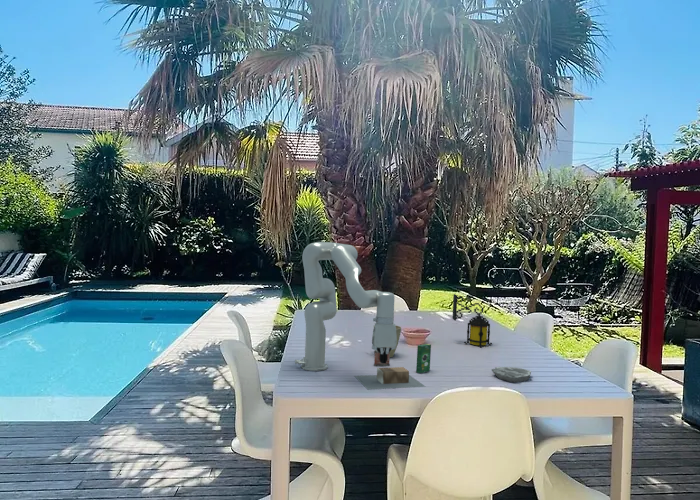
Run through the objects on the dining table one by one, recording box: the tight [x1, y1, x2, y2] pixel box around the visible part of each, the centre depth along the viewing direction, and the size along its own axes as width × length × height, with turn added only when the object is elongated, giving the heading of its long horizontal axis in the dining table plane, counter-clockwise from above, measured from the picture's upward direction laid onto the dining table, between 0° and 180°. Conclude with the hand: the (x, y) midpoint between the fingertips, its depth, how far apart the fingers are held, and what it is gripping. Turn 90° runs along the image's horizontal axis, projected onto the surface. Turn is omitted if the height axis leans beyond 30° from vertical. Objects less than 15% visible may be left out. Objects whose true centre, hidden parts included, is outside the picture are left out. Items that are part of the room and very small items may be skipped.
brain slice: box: [491, 366, 532, 383], centre depth 242 cm, size 20×17×3 cm
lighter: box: [373, 348, 391, 367], centre depth 255 cm, size 8×3×10 cm, turn 105°
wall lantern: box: [452, 293, 493, 349], centre depth 312 cm, size 17×24×30 cm
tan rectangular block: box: [376, 366, 410, 384], centre depth 225 cm, size 5×7×12 cm
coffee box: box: [415, 343, 432, 374], centre depth 246 cm, size 8×3×13 cm, turn 137°
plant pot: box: [389, 324, 402, 359], centre depth 274 cm, size 15×15×16 cm
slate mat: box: [353, 374, 426, 391], centre depth 225 cm, size 26×20×1 cm
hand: (383, 362), depth 224 cm, fingers closed
